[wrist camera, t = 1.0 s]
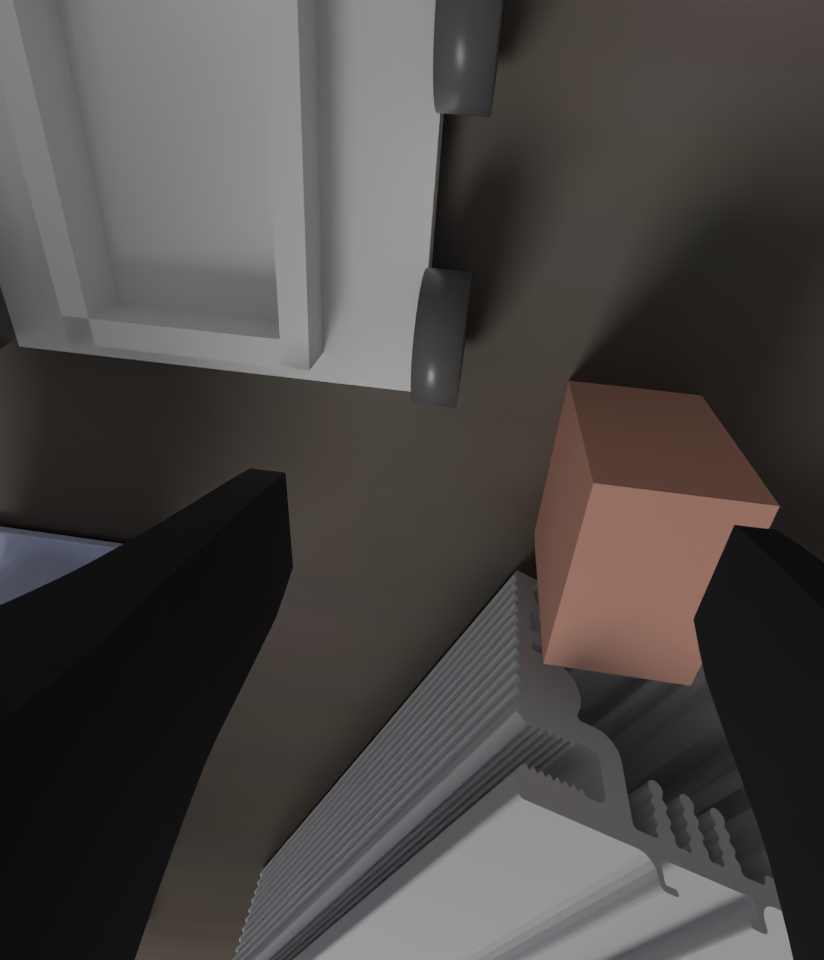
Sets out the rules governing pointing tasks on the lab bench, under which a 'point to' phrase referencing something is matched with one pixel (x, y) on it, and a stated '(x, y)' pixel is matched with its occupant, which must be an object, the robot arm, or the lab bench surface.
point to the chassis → (239, 183)
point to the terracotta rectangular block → (637, 528)
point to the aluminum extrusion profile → (528, 823)
